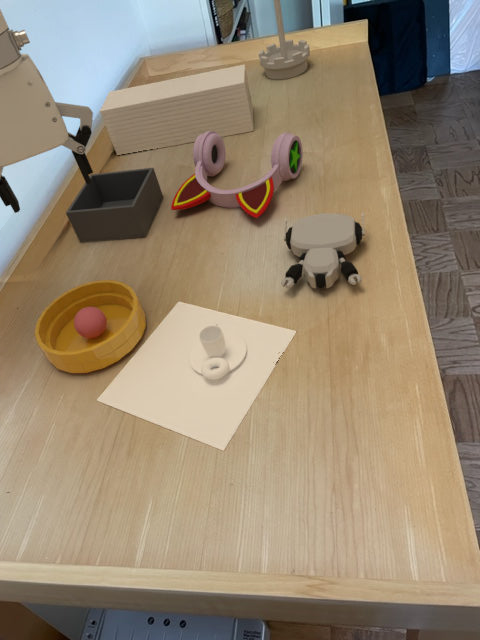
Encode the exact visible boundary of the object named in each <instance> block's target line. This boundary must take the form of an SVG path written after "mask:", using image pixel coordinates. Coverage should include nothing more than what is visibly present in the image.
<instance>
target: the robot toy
mask: <svg viewBox="0 0 480 640" xmlns="http://www.w3.org/2000/svg"><path fill="white" fill-rule="evenodd" d="M364 218H365V213H364V211H362V212H361V223H362V224H360V222H357V221H356V220H355V218H354V217H353V216H350V215H348V214H344V213H338V212H337V213H336V212H331V213H330V212H322V213H316V214H311V215H306V216H303V217H300V218H299V219H297V220H296V221H294V222H293V223H292V226H290V227H289V228H288V229H287V224H288V219H287V218H284V234H283V242H285V245H286V246H287V248H288V249H289V250H291V252H292V254H293V255H295V256H297V257H299V259H298V260H299V262H298V263H295V264H293V265H292V264H291V265H290V267H288V269H287V271H286V272H285V275H284V276H285V277H284V278H283V279H282V281H281V283H280V285H281V287H283V288H285V287H286V288H287V289H291V288H293V286H294V285H295V284H297V283H298V282H299V281H300V279H301V278H302V276H303V274H304V278H305V281H307V283H309V285H310V288H312V289H314V290H315V289H318V290H322V289H325V288H326V289H329V288H331V287H333V285H334V283H335V282H336V281H337V280H338V279H339V278H340V275H341V274H342V276H343V277H344V278H345V280H346V281H347V282H348V283H349V284H351V286H356V285H357V284H361V283H362V281H363V280H362V276H361V275H360V274H359V271H358V269H357V267H356V266H355V265H354V263H353V262H352V261H348V260H346V256H345V255H348V254H350V253H352V252H353V251H355V249H356V247H357V246H358V245H361V242H362V240H363V237H364V236H365V235H366V234H365V233H366V232H365V231H366V230H365V219H364ZM361 225H362V226H361ZM303 272H304V273H303Z"/></svg>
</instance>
